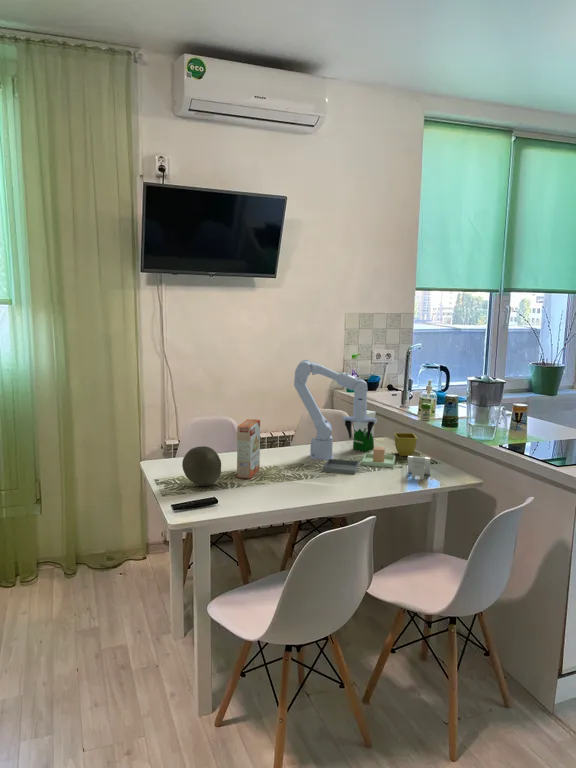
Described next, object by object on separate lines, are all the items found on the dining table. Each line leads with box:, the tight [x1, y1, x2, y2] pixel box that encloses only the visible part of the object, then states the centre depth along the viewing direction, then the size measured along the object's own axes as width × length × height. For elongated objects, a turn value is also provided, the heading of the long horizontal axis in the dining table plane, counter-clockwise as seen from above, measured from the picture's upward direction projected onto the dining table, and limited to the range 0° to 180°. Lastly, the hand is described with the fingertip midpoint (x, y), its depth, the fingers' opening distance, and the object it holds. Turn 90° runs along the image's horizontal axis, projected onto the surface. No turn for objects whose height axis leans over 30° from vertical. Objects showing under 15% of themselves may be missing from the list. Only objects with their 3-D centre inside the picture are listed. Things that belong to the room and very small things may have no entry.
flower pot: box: [393, 432, 418, 457], centre depth 258 cm, size 9×9×9 cm
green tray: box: [361, 452, 396, 470], centre depth 246 cm, size 13×13×2 cm
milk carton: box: [352, 409, 377, 453], centre depth 266 cm, size 9×9×20 cm
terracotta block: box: [372, 446, 386, 463], centre depth 245 cm, size 4×4×6 cm
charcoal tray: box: [322, 458, 360, 475], centre depth 237 cm, size 13×13×2 cm
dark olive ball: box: [182, 445, 222, 487], centre depth 215 cm, size 14×14×15 cm
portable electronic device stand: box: [407, 455, 431, 480], centre depth 229 cm, size 9×8×8 cm
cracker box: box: [236, 418, 261, 479], centre depth 230 cm, size 14×6×21 cm, turn 167°
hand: (359, 438), depth 249 cm, fingers open, 7 cm apart
